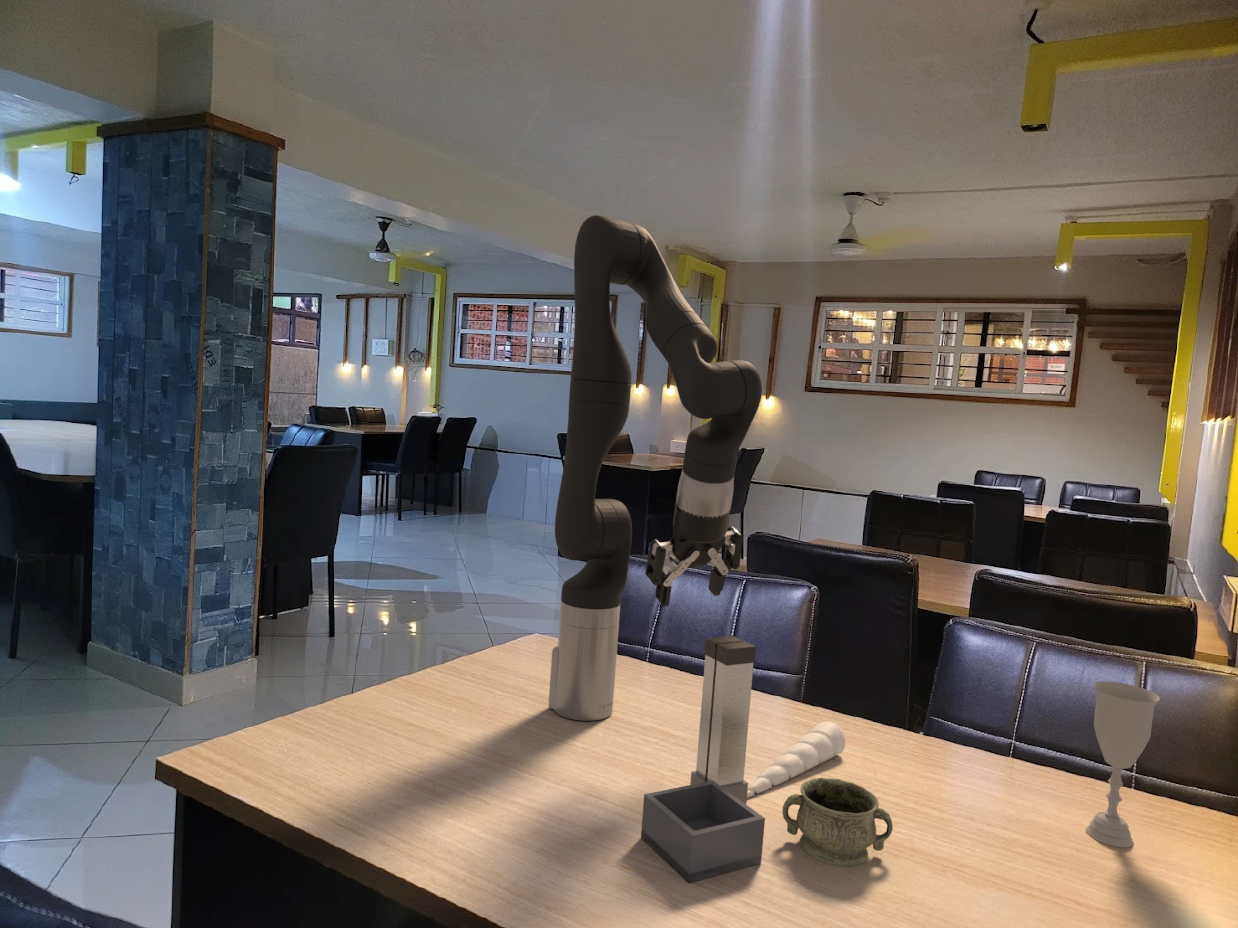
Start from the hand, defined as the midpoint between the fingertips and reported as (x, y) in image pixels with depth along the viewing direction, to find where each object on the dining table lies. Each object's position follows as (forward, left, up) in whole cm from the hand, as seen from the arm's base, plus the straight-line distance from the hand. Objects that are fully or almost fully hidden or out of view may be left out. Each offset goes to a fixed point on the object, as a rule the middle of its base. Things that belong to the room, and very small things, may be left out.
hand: (688, 597), depth 119 cm
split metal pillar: (+13, -15, -21) cm, 29 cm away
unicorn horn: (+18, -1, -21) cm, 28 cm away
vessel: (+28, -17, -21) cm, 39 cm away
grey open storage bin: (+16, -27, -21) cm, 38 cm away
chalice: (+55, +7, -21) cm, 59 cm away
